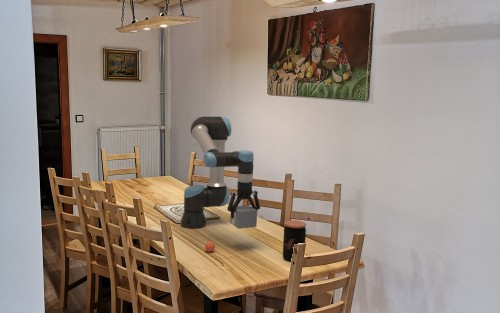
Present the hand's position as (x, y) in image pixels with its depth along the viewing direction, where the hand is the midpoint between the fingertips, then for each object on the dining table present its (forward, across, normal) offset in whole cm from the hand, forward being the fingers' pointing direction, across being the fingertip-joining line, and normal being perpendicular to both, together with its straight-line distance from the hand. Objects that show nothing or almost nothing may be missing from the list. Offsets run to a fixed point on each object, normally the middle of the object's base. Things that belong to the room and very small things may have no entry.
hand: (243, 223), depth 245 cm
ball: (+10, -18, 0) cm, 21 cm away
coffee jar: (+13, +17, -23) cm, 32 cm away
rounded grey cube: (+1, 0, 0) cm, 1 cm away
